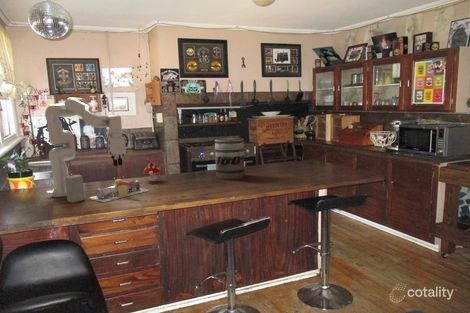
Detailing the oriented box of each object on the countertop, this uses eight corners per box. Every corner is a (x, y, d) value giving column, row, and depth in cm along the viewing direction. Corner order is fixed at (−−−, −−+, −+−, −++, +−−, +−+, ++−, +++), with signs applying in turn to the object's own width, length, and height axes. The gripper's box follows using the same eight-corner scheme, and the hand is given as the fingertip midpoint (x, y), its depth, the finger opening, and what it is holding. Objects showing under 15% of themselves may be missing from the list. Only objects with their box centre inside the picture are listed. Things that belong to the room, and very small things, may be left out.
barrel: (223, 181, 269) (222, 141, 265) (211, 176, 289) (210, 139, 285) (249, 177, 280) (249, 139, 275) (236, 173, 299) (235, 137, 295)
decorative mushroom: (159, 183, 268) (158, 163, 266) (141, 183, 269) (139, 163, 267) (163, 179, 282) (162, 160, 280) (146, 179, 283) (144, 161, 281)
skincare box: (79, 198, 228) (77, 174, 226) (85, 200, 224) (83, 175, 221) (66, 201, 222) (64, 176, 219) (72, 203, 217) (69, 177, 215)
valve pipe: (103, 202, 217) (103, 191, 216) (89, 199, 226) (88, 188, 225) (148, 191, 244) (147, 180, 243) (133, 188, 253) (133, 178, 252)
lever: (114, 184, 233) (113, 179, 233) (119, 182, 237) (119, 178, 236) (130, 186, 223) (130, 181, 223) (136, 185, 227) (136, 180, 226)
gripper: (107, 136, 211) (110, 167, 213) (130, 134, 224) (132, 164, 226) (100, 136, 215) (102, 166, 218) (123, 134, 228) (125, 163, 231)
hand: (118, 165), depth 222 cm, fingers open, 2 cm apart
